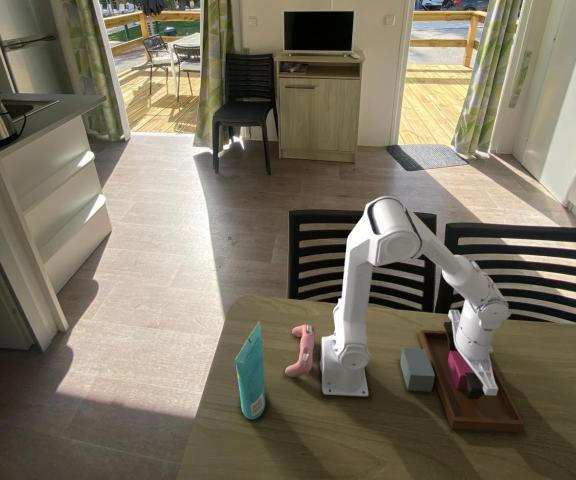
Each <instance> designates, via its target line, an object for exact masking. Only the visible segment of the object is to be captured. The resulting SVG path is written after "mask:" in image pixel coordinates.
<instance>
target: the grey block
mask: <svg viewBox="0 0 576 480" xmlns="http://www.w3.org/2000/svg"><path fill="white" fill-rule="evenodd" d="M399 364H400V368H401V372H402V375H403V378H404V383H405V386H406V389H407V391H413V392H414V391H415V392H432V391H433V386H434V383H435V381H434V379H435V374H434V372H433V369H432V366H431V363H430V360H429V358H428V355H427V352H426V349H423V348H413V347H412V348H410V347H402V351H401V355H400V361H399Z"/></svg>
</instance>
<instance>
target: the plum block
mask: <svg viewBox="0 0 576 480" xmlns="http://www.w3.org/2000/svg"><path fill="white" fill-rule="evenodd" d="M447 366H448V368H449V371H450V373H451V376H452V378H453V381H454V383H455V386H456V388H457V389H462V390H467V378H466V376H465V372H468V373H475V372H474V371H473V370H472V368H471V367H470V366H469V365H468V363H467V362H466V361H465V359H464V358H463V357H462V355H461V354H460V353H459V351H450V354H449V358H448V362H447Z"/></svg>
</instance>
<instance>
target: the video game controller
mask: <svg viewBox="0 0 576 480" xmlns="http://www.w3.org/2000/svg"><path fill="white" fill-rule="evenodd" d="M316 332H317V329H316V327H315V326H314V325H312V324H308V323H306V324H302V325H299V326H295V327H294V328H293V329H292V331H291V333H292V335H293V336H295V337H296V338H300V343H299V349H300V351H299V356H298V360H297V362H295V363H294V364H291V365H289V366H287V367H286V368H285V370H284V372H285V375H286V376H287V377H290V378H298V377H301V376H304V375H308V374H309V372H310V371H311V370H312V369H313V366H314V365H313V364H314V362H313V353H314V346H315V338H316V337H315V336H316Z"/></svg>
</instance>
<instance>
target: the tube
mask: <svg viewBox="0 0 576 480" xmlns="http://www.w3.org/2000/svg"><path fill="white" fill-rule="evenodd" d="M262 334H263V333H262V324H261V321H260V320H259V321H258V322H257V324H256V325H255V327H254V328H253V330H252V331H251V333H250V334H249V336H248V337H247V339H246V340H245V342H244V344H243V346H241V349H240V351H239V353H238V354H237V356H236V358H235V360H234V361H235V367H236V375H237V381H238V389H239V396H240V407H241V412H242V414H243V415H244V417H245V418H246V419H249V420H255V419H258V418H259V417H260V416H261V415H262V414H263V412H264V411H265V407H266V389H265V388H266V387H265V371H264V370H265V369H264V354H263V353H264V352H263V337H262Z"/></svg>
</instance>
